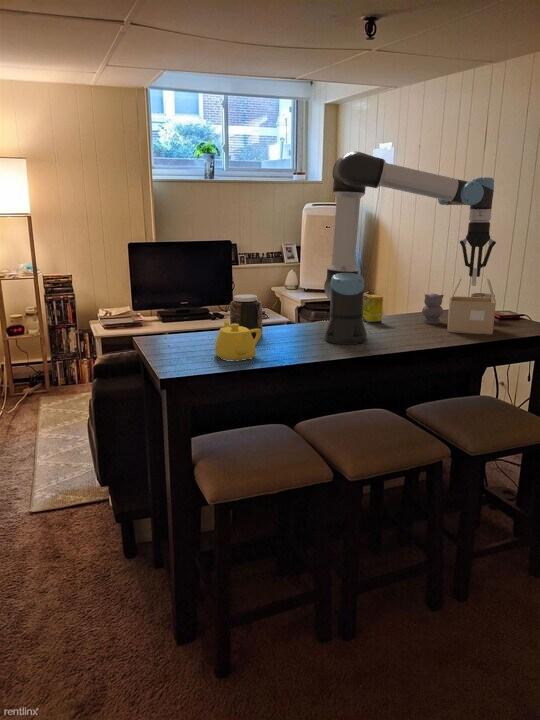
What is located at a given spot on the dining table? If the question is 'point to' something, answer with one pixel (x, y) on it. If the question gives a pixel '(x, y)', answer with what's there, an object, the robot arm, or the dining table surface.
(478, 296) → the mug
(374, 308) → the supplement box
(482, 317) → the carton
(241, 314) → the jar
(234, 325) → the teapot
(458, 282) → the flap
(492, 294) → the flap
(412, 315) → the dining table surface
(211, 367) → the dining table surface
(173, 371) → the dining table surface
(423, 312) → the cat figurine
